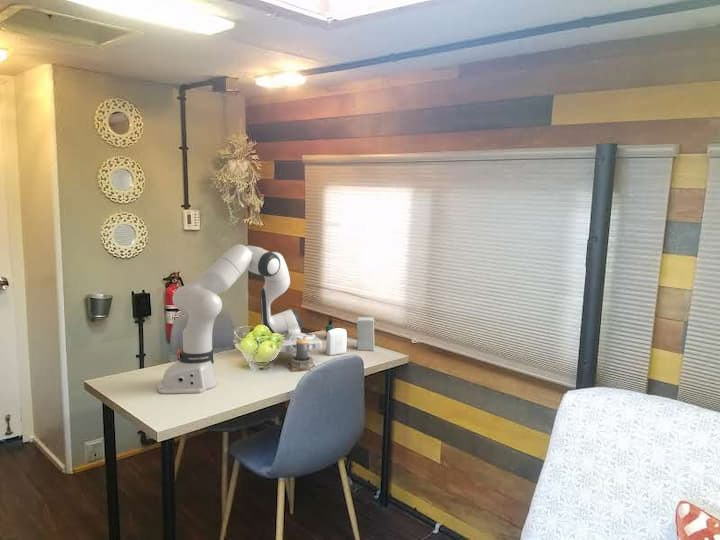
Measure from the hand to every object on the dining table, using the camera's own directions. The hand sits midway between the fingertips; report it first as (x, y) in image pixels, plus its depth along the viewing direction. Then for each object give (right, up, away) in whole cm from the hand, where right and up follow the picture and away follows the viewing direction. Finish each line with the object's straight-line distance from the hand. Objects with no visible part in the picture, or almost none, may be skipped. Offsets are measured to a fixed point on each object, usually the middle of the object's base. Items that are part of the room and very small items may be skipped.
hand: (302, 350), depth 239 cm
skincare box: (+28, -4, +32) cm, 42 cm away
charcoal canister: (0, -7, +2) cm, 7 cm away
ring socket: (0, -8, +2) cm, 8 cm away
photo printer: (+14, -5, +23) cm, 27 cm away
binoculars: (+12, -1, +50) cm, 52 cm away
